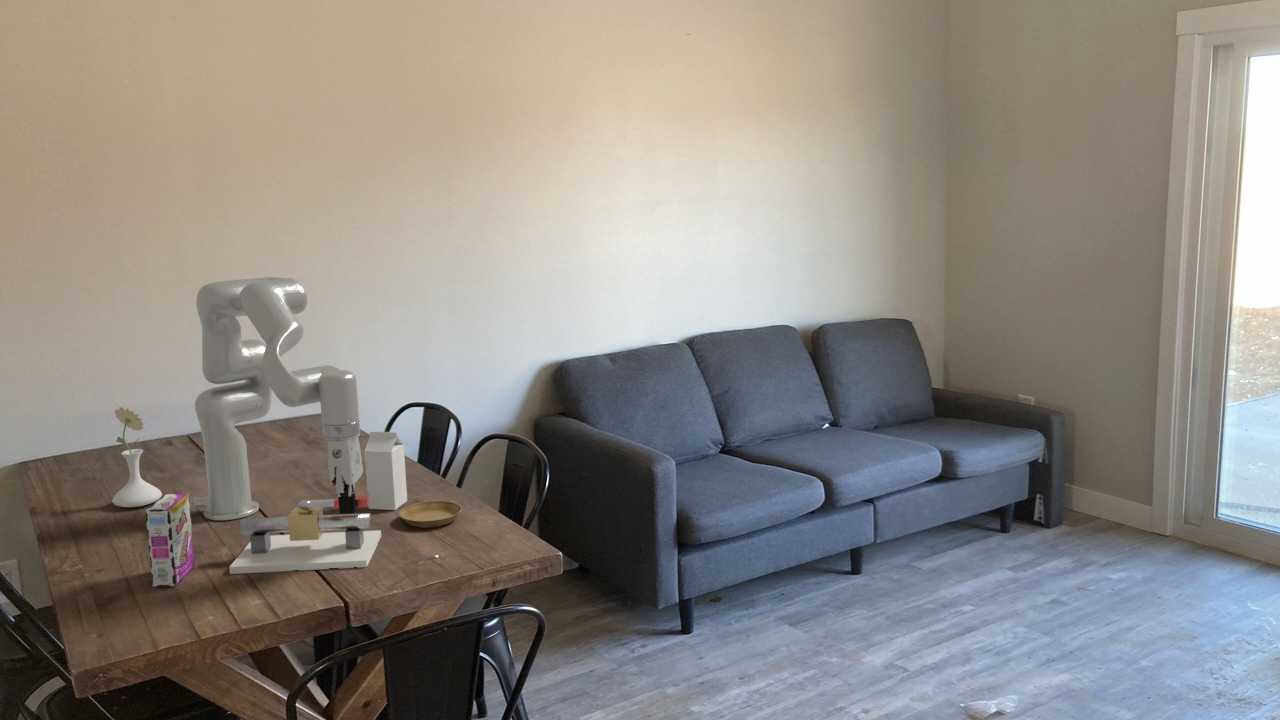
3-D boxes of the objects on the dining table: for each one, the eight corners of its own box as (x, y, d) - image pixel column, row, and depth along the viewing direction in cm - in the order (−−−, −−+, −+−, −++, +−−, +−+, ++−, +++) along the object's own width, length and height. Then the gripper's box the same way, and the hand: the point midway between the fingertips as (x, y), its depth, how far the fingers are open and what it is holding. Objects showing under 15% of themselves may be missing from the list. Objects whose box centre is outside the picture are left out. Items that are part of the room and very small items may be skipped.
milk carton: (395, 510, 243) (390, 436, 240) (368, 509, 245) (363, 435, 241) (407, 501, 250) (402, 428, 247) (381, 500, 251) (376, 427, 248)
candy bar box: (177, 587, 200) (169, 509, 197) (152, 588, 200) (143, 510, 196) (197, 565, 211) (189, 492, 208) (173, 567, 210) (164, 493, 207)
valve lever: (367, 507, 214) (367, 499, 214) (297, 510, 213) (297, 502, 212) (369, 502, 217) (369, 495, 216) (301, 506, 215) (300, 498, 215)
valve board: (229, 573, 206) (229, 567, 206) (255, 542, 224) (254, 536, 223) (366, 567, 208) (366, 560, 208) (381, 536, 226) (380, 530, 226)
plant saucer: (408, 510, 244) (408, 500, 244) (468, 510, 244) (467, 500, 243) (391, 531, 230) (391, 521, 229) (454, 531, 229) (454, 520, 229)
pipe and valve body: (240, 555, 212) (236, 515, 210) (248, 546, 217) (245, 507, 216) (369, 549, 214) (366, 509, 212) (373, 540, 220) (371, 501, 218)
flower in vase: (170, 502, 253) (159, 407, 248) (123, 514, 244) (111, 416, 240) (149, 492, 261) (139, 400, 257) (103, 503, 253) (91, 408, 249)
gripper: (350, 438, 201) (357, 524, 204) (367, 420, 216) (373, 500, 219) (313, 439, 201) (320, 525, 204) (332, 421, 216) (339, 502, 219)
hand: (348, 512), depth 212 cm, fingers closed
